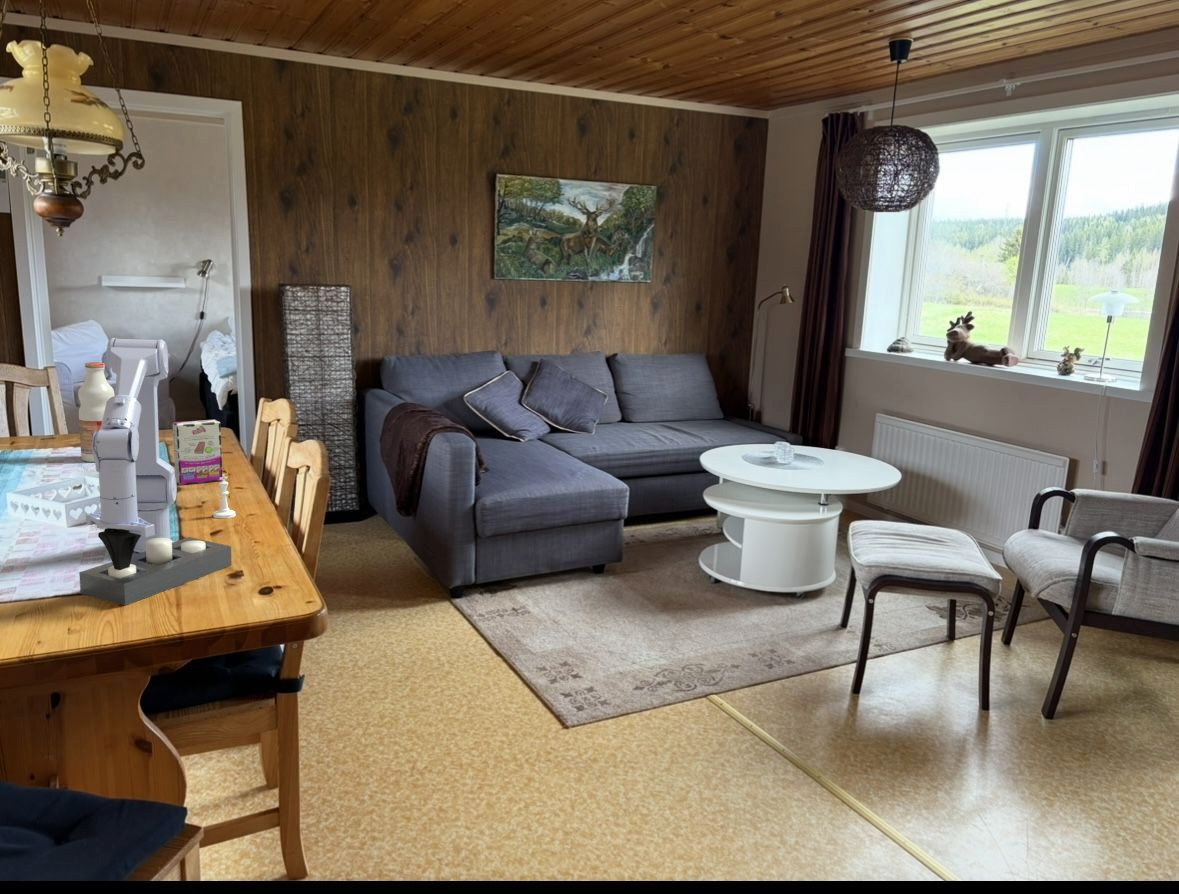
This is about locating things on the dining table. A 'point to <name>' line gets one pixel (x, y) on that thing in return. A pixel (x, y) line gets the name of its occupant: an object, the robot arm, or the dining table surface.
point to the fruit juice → (92, 406)
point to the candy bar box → (197, 451)
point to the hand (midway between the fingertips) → (122, 568)
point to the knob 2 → (193, 546)
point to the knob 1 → (121, 571)
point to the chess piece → (224, 501)
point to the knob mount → (154, 573)
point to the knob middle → (158, 550)
